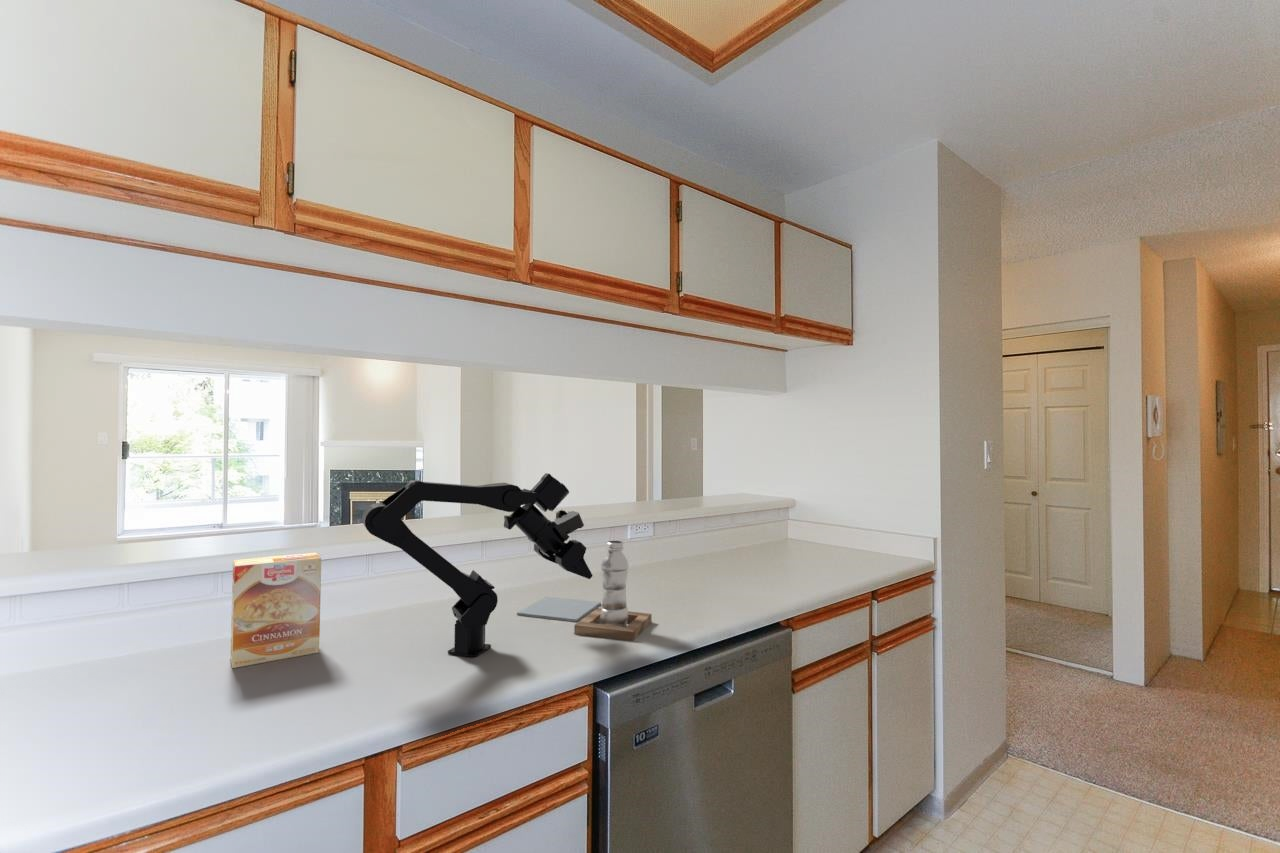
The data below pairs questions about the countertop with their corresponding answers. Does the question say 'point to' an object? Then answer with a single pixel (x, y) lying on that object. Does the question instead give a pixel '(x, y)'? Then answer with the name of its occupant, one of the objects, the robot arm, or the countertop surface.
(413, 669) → the countertop surface
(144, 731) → the countertop surface
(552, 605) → the mat
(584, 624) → the pocket frame
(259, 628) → the coffeecake box
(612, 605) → the plastic bottle
